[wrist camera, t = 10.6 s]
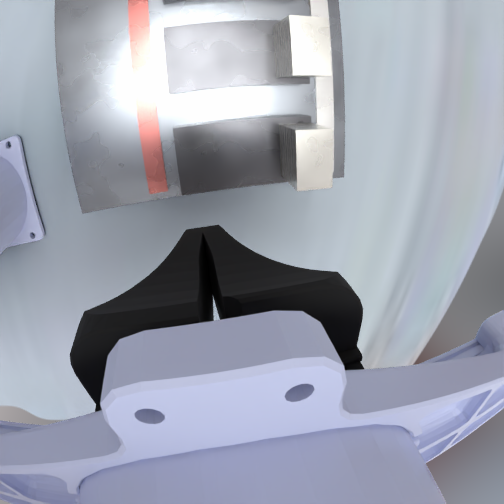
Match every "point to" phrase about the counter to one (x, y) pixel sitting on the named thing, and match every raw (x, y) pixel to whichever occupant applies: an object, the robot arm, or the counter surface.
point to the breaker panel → (199, 96)
